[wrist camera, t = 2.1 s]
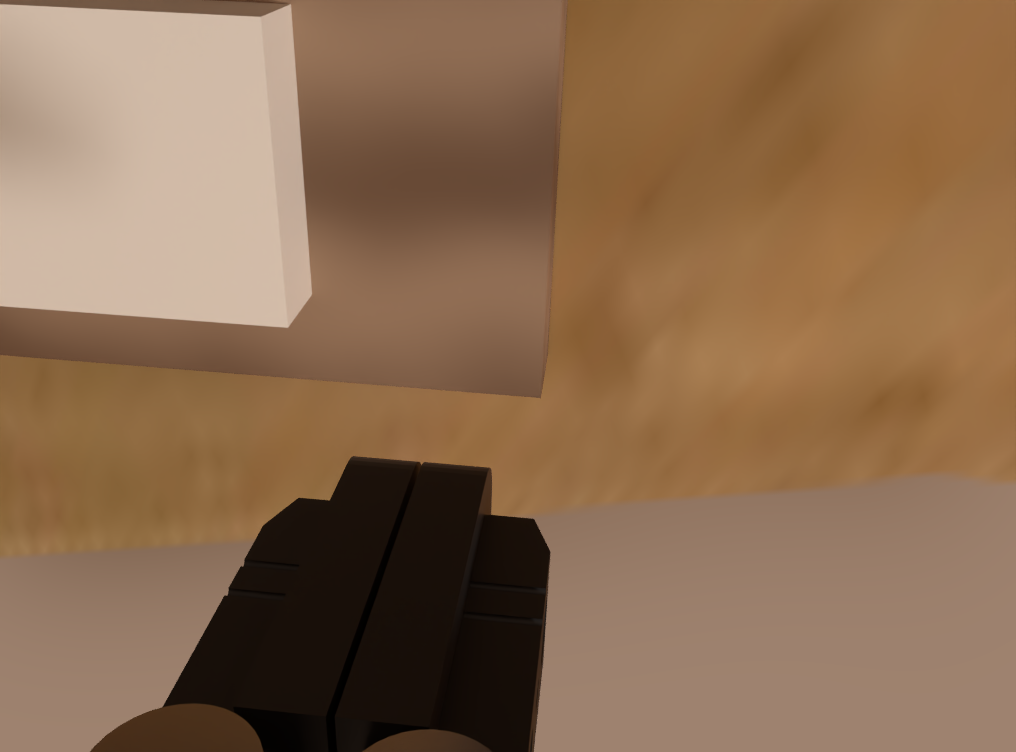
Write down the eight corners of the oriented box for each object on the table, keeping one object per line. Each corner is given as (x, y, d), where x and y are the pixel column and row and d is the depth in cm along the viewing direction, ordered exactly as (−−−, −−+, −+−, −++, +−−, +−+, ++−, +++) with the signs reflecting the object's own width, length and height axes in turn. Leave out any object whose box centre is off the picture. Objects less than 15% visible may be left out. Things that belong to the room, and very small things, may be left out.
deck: (-97, -164, 23) (-174, -166, 21) (575, -140, 22) (569, -141, 19) (15, 314, 29) (-35, 352, 27) (547, 355, 27) (540, 397, 25)
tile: (-51, -13, 22) (-110, -2, 20) (290, 4, 21) (260, 17, 20) (14, 273, 25) (-32, 304, 23) (312, 294, 25) (287, 327, 23)
